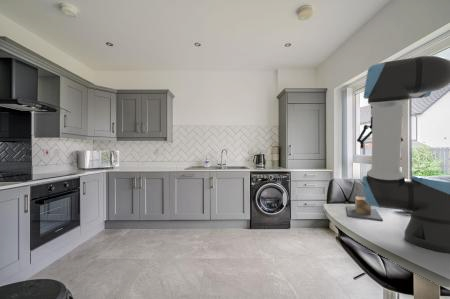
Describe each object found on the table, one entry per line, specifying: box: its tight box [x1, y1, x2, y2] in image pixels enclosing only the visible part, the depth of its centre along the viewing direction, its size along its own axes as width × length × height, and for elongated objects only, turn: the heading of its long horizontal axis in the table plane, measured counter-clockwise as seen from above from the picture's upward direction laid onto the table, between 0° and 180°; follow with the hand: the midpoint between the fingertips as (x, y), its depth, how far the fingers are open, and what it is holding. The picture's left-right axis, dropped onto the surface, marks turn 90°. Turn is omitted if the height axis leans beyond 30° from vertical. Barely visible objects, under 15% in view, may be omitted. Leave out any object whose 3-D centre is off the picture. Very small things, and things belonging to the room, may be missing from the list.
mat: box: [345, 205, 384, 222], centre depth 111 cm, size 20×14×1 cm
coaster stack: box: [354, 195, 372, 215], centre depth 111 cm, size 6×9×7 cm, turn 152°
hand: (378, 154), depth 115 cm, fingers open, 13 cm apart
